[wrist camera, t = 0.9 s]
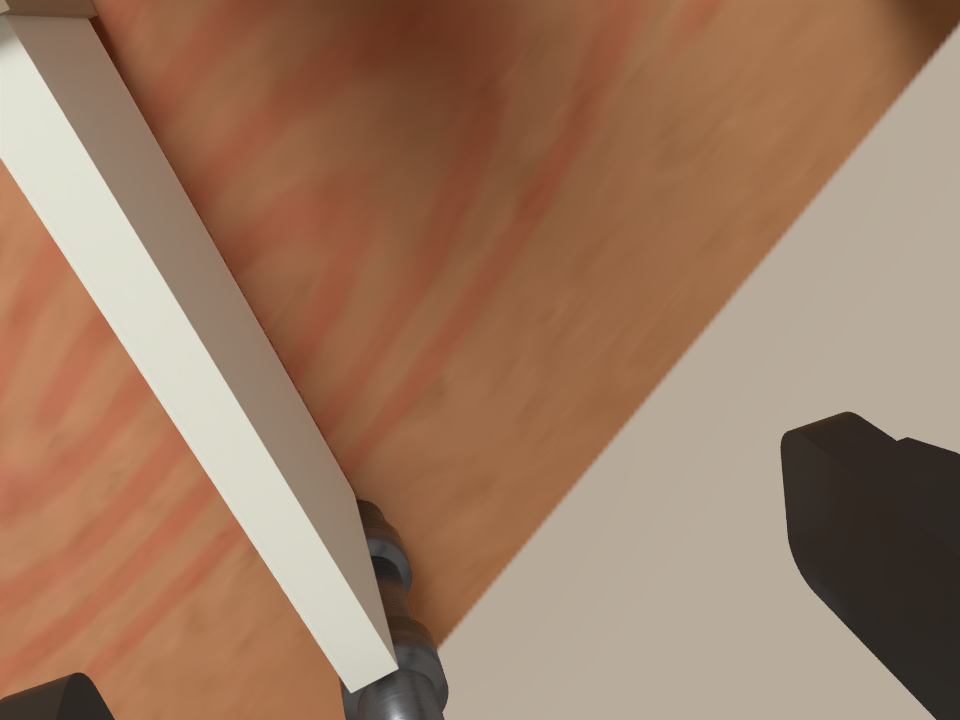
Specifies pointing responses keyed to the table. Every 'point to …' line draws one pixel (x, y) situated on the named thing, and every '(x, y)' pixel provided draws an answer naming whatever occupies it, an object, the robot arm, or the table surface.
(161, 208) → the gate
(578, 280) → the table surface
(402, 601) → the gate post
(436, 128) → the table surface
